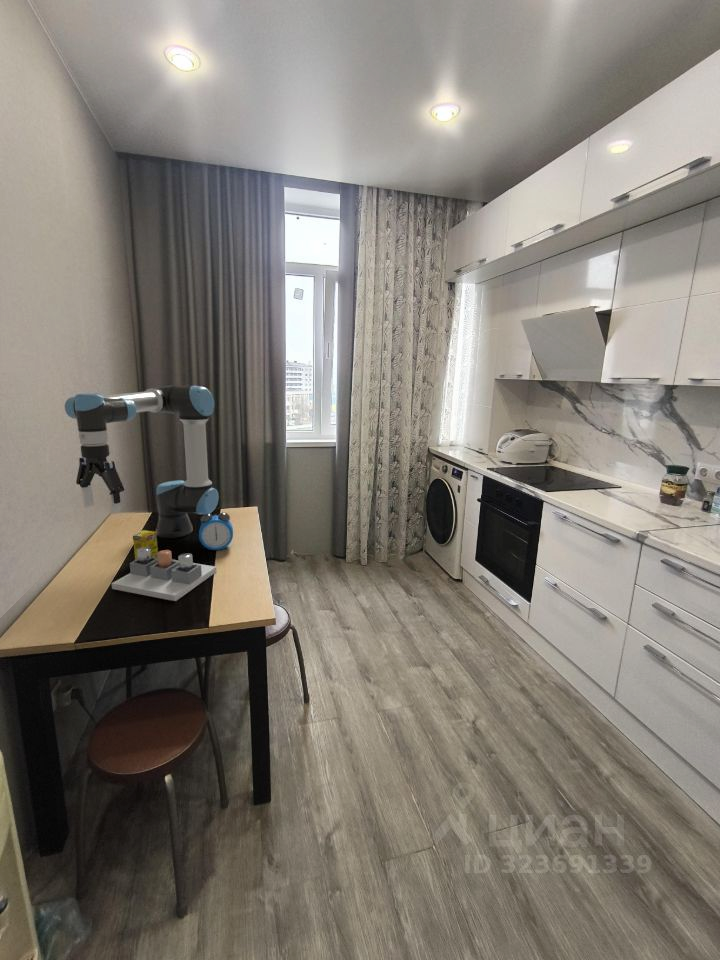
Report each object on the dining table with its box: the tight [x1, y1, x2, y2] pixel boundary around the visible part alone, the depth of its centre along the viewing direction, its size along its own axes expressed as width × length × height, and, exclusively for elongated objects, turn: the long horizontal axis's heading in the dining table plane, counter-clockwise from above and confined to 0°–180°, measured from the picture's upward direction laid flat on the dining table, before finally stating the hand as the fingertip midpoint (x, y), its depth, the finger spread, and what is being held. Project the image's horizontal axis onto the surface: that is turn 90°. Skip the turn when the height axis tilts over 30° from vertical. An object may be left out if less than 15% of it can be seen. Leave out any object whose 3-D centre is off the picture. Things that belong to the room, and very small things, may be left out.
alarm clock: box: [198, 512, 234, 551], centre depth 178 cm, size 13×6×15 cm, turn 107°
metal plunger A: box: [137, 547, 152, 565], centre depth 152 cm, size 4×4×5 cm
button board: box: [111, 557, 217, 602], centre depth 151 cm, size 22×25×6 cm
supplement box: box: [132, 529, 159, 561], centre depth 165 cm, size 6×6×11 cm
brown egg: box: [157, 549, 173, 568], centre depth 150 cm, size 4×4×5 cm
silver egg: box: [177, 552, 194, 572], centre depth 148 cm, size 4×4×5 cm
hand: (102, 509), depth 140 cm, fingers open, 13 cm apart
